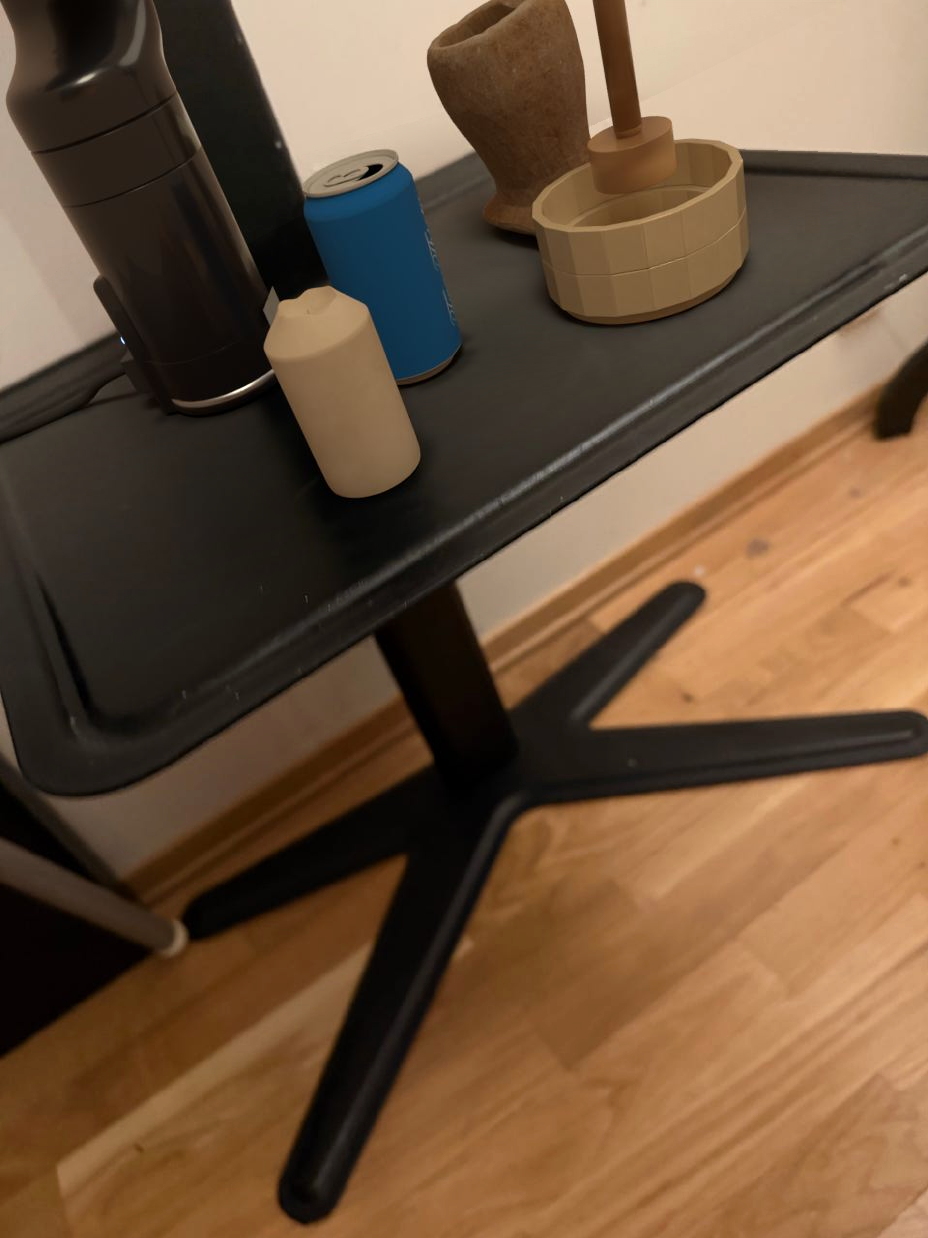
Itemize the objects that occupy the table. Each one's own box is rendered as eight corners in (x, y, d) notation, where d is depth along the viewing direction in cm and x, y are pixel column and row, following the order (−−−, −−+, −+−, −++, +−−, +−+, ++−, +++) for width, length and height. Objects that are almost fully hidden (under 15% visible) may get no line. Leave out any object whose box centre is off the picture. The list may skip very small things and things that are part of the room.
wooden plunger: (596, 202, 51) (528, -167, 40) (593, 173, 55) (529, -175, 44) (681, 179, 50) (634, -208, 39) (672, 151, 54) (627, -212, 43)
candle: (385, 505, 47) (310, 330, 40) (309, 493, 50) (228, 328, 43) (440, 443, 50) (379, 271, 43) (365, 435, 53) (297, 272, 46)
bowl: (553, 348, 54) (530, 251, 50) (552, 262, 63) (532, 174, 59) (764, 299, 51) (758, 192, 47) (732, 216, 60) (724, 120, 56)
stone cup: (449, 243, 71) (385, 27, 61) (569, 178, 73) (526, -39, 63) (562, 283, 60) (507, 28, 50) (698, 206, 62) (670, -51, 52)
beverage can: (464, 376, 54) (400, 173, 47) (364, 401, 56) (285, 207, 48) (466, 327, 59) (408, 135, 51) (374, 351, 60) (303, 168, 53)
